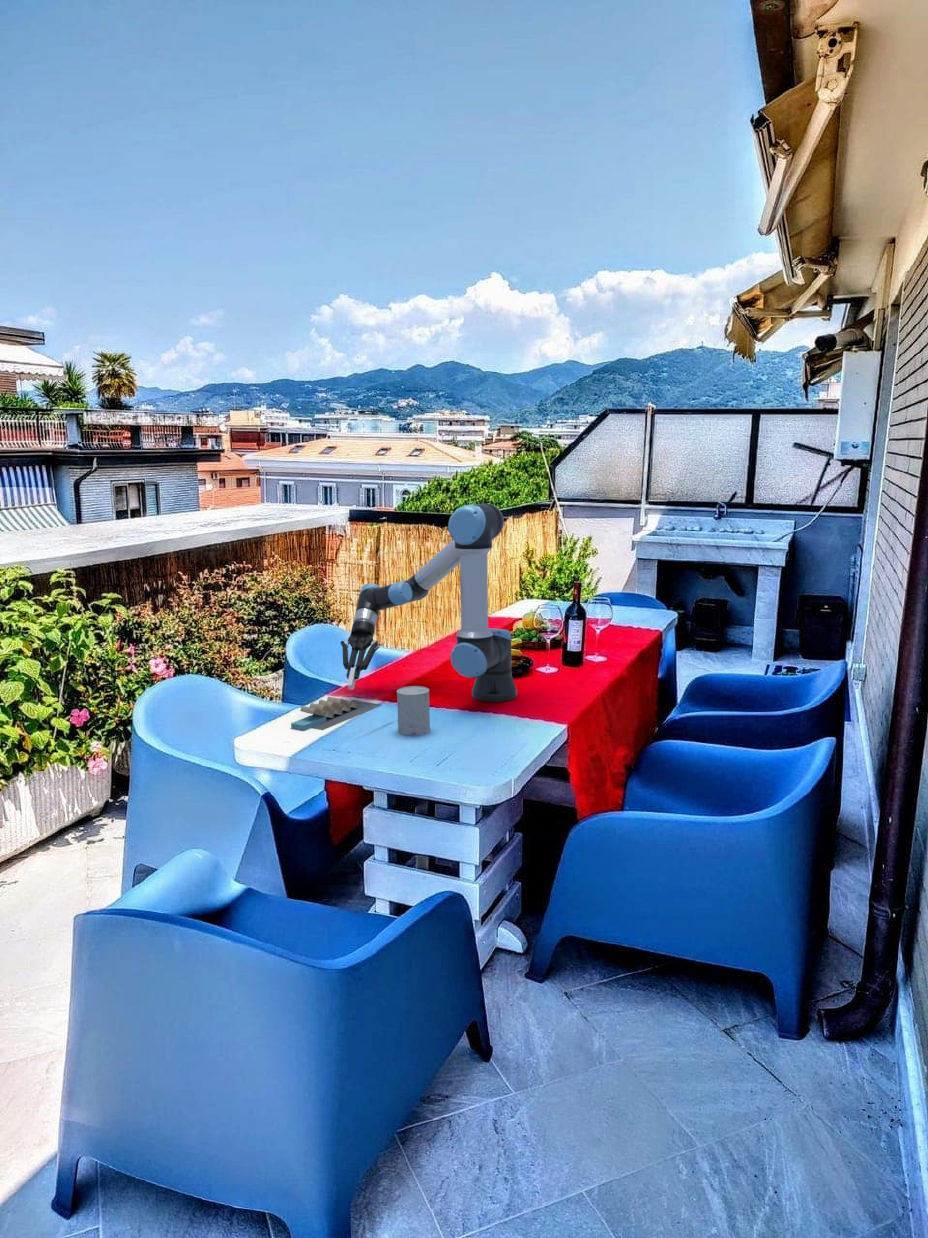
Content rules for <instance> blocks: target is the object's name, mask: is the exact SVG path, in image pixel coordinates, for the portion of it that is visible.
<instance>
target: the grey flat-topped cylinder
mask: <svg viewBox="0 0 928 1238" xmlns="http://www.w3.org/2000/svg"><path fill="white" fill-rule="evenodd" d="M396 697H397V698H396V699H397V700H396V701H397V725H398V726H397V732H398V734H400V735H403V736H407V737H408V736H410V737H412V736H413V737H415V736H423V735H426V734H428V733H430V732H431V719H430V718H431V717H430V715H431V713H430V689H429V688H428V687H426V686H420V685H411V686H410V685H409V686H403V687H400V688H398V689H397V690H396Z"/></svg>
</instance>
